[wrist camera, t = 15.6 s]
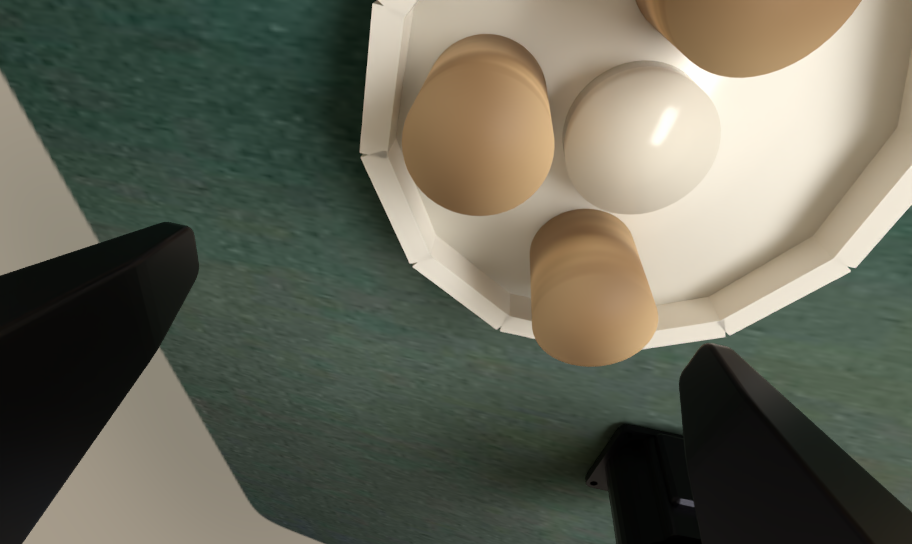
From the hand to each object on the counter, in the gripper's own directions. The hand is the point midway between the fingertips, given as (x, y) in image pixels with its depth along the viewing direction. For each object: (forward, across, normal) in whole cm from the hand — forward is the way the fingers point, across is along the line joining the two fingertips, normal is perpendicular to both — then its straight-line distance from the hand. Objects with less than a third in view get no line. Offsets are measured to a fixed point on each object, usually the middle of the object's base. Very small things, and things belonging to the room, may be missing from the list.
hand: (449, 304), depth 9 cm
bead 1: (+12, 0, 0) cm, 12 cm away
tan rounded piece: (+12, -6, +6) cm, 14 cm away
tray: (+12, -6, 0) cm, 14 cm away
